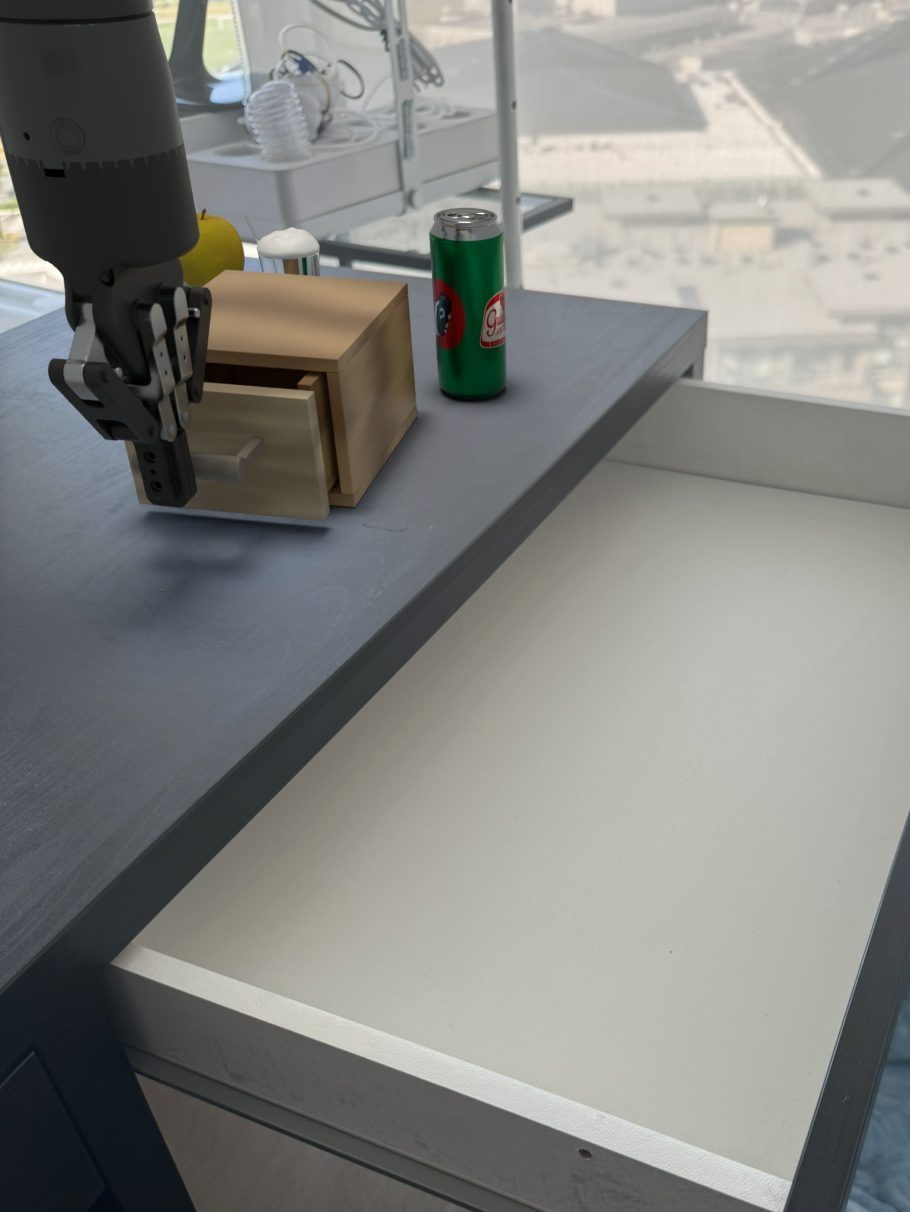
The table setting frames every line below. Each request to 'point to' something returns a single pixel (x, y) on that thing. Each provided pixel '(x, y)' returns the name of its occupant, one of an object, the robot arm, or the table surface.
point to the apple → (213, 251)
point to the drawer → (259, 443)
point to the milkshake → (288, 252)
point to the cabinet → (327, 355)
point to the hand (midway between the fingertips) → (173, 500)
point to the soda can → (469, 302)
